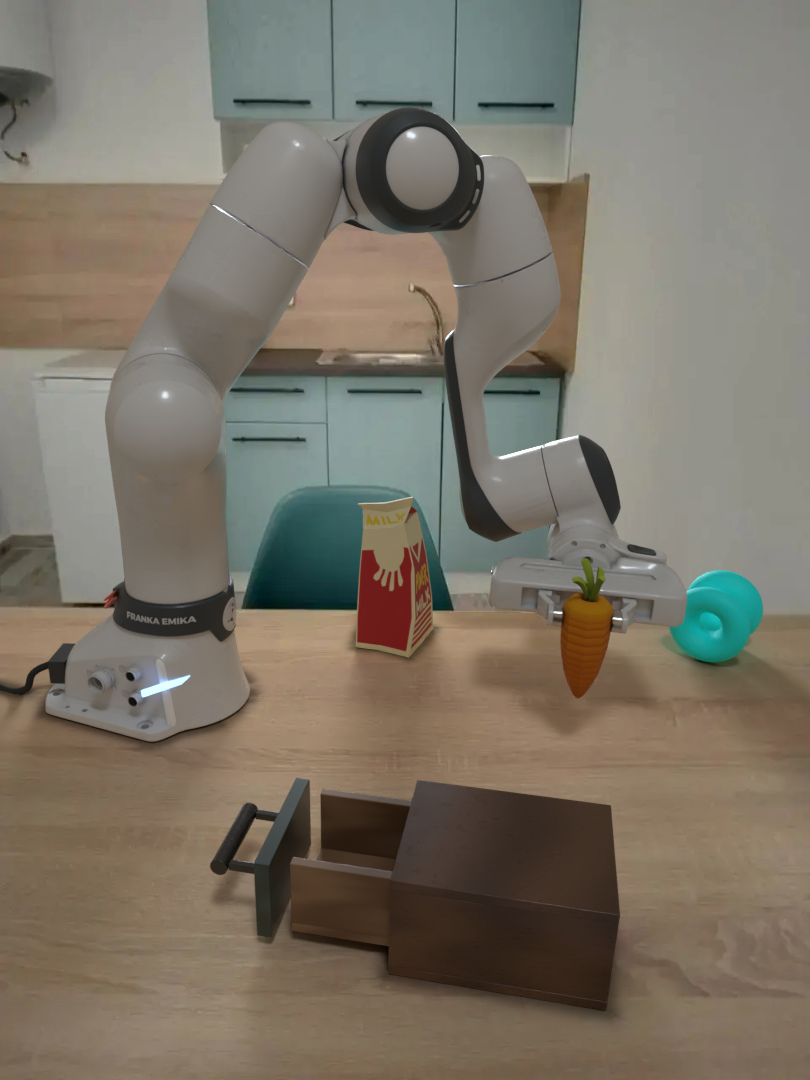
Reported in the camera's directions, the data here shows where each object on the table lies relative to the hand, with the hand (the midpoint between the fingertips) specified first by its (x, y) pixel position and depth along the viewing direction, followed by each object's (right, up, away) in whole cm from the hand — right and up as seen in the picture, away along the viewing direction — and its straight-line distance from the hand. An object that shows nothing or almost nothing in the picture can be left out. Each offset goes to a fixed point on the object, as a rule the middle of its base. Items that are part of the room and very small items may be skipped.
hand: (587, 623), depth 82 cm
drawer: (-23, -20, -15) cm, 34 cm away
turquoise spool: (+22, -6, +28) cm, 37 cm away
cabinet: (-11, -22, -17) cm, 30 cm away
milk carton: (-20, -5, +29) cm, 36 cm away
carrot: (0, -8, +4) cm, 9 cm away
